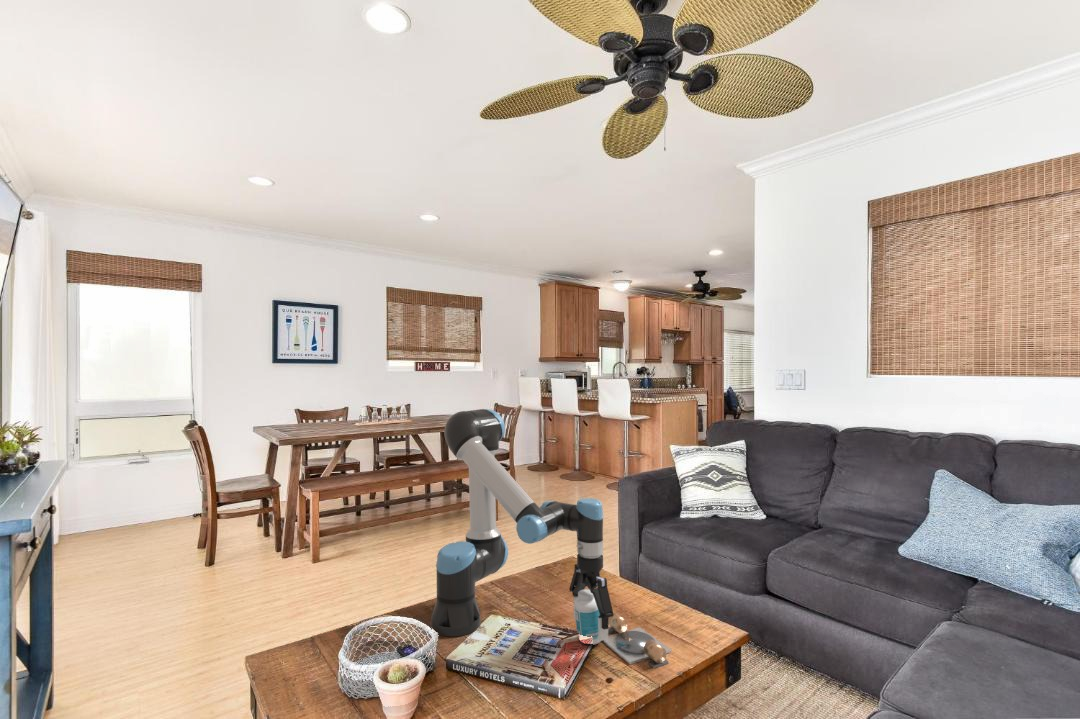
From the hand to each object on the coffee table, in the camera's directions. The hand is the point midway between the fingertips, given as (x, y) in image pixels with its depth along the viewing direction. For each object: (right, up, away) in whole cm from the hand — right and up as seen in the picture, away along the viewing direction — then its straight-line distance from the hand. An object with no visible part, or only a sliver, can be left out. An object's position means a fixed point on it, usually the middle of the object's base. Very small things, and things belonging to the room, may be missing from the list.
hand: (590, 628), depth 150 cm
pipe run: (+12, -3, -3) cm, 13 cm away
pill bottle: (0, -3, 0) cm, 3 cm away
